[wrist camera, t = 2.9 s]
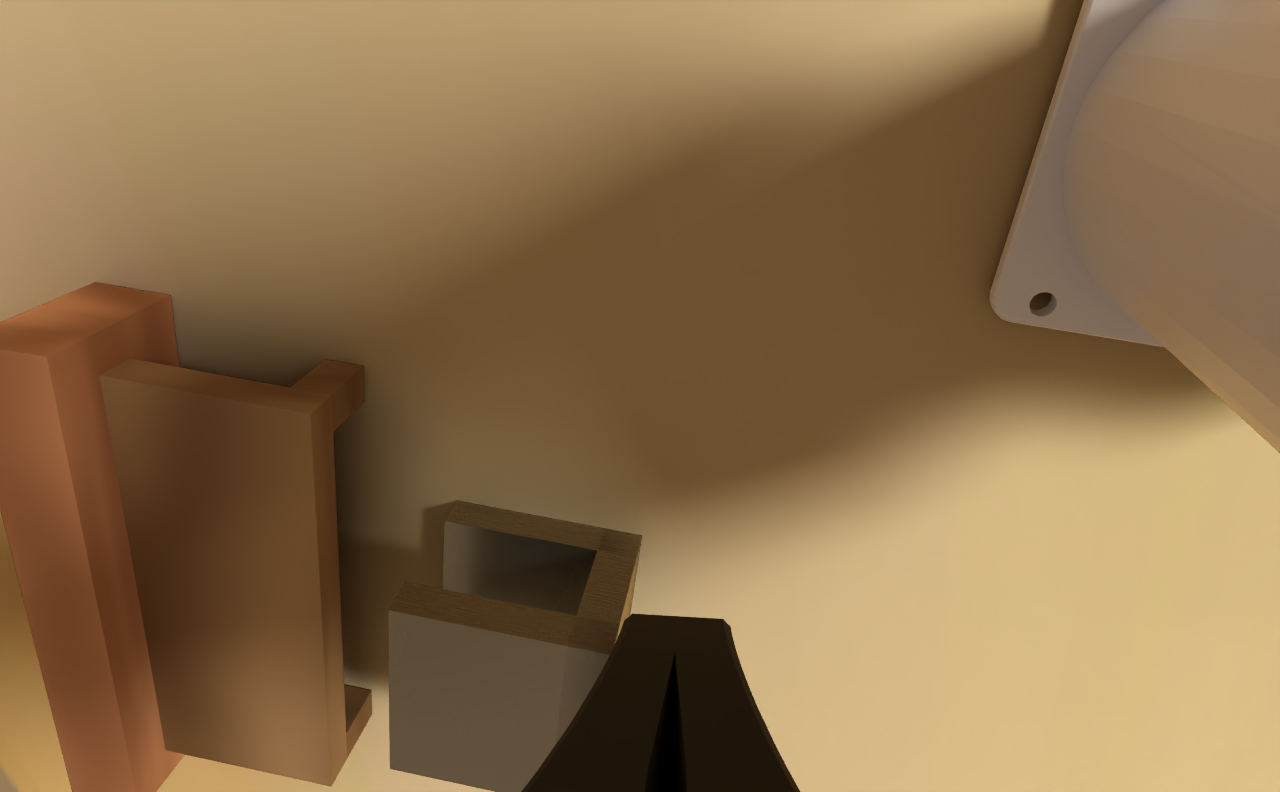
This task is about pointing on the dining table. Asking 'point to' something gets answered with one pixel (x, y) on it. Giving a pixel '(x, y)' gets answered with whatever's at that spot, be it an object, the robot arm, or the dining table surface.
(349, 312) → the dining table surface
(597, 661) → the open storage bin
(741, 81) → the dining table surface
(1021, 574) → the dining table surface
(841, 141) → the dining table surface
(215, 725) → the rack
